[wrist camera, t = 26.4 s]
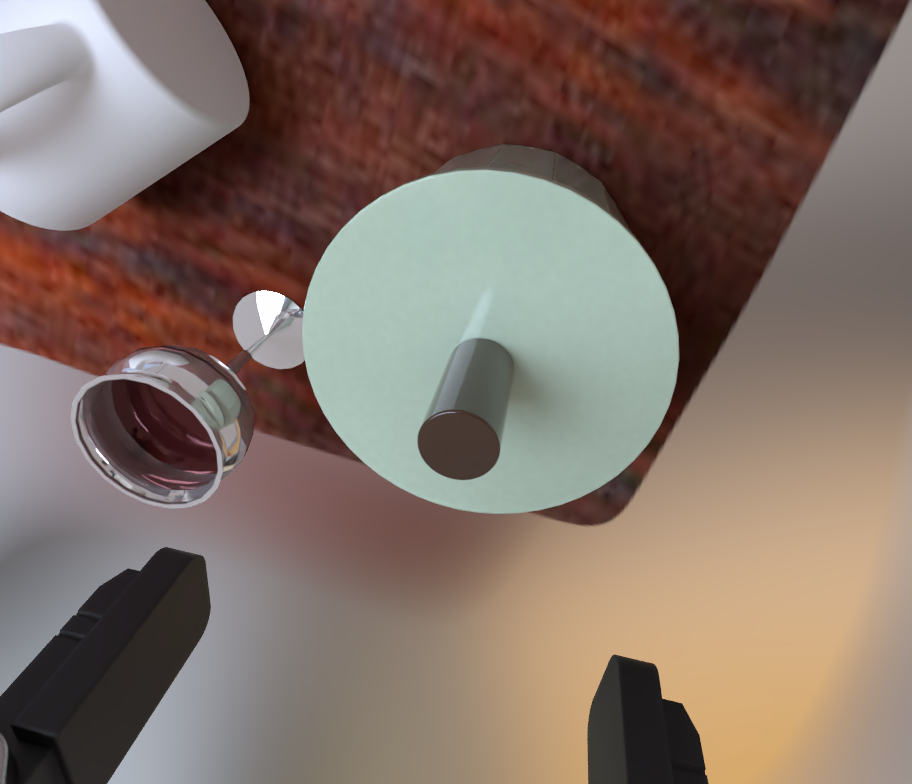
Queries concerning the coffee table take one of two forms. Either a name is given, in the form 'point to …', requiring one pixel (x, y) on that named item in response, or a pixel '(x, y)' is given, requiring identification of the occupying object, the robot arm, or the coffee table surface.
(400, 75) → the coffee table surface
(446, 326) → the lid
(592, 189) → the jar
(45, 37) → the mug
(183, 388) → the wineglass
